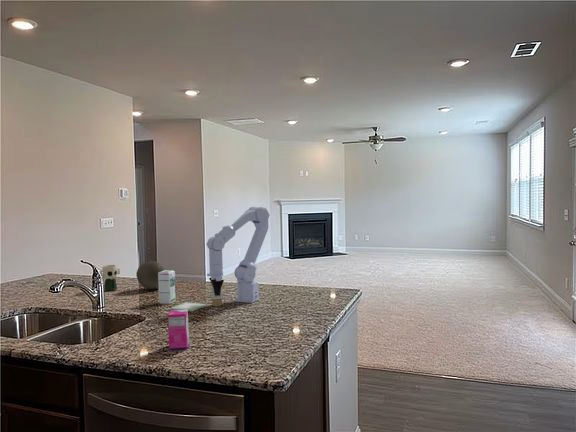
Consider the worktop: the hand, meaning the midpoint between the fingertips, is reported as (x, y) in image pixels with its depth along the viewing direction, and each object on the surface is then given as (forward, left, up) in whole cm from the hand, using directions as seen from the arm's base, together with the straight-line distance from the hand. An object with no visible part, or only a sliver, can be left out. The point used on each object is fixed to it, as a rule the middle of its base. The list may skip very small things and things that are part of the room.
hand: (216, 294), depth 199 cm
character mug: (+71, -11, -5) cm, 72 cm away
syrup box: (+25, +2, -5) cm, 26 cm away
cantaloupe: (+51, -19, -5) cm, 55 cm away
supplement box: (-17, +52, -5) cm, 55 cm away
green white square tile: (+10, +7, -5) cm, 13 cm away
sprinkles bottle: (0, 0, -5) cm, 5 cm away
